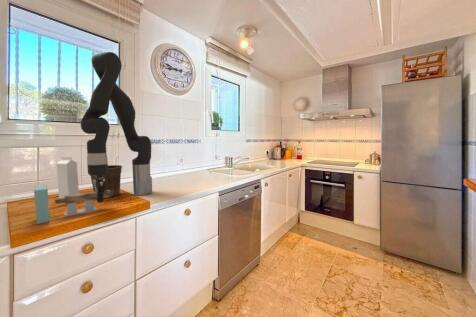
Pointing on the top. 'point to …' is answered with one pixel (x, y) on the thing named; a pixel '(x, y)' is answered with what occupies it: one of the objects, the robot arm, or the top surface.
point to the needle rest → (88, 208)
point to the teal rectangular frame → (42, 204)
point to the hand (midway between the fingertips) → (99, 201)
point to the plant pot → (112, 179)
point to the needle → (81, 197)
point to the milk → (67, 177)
